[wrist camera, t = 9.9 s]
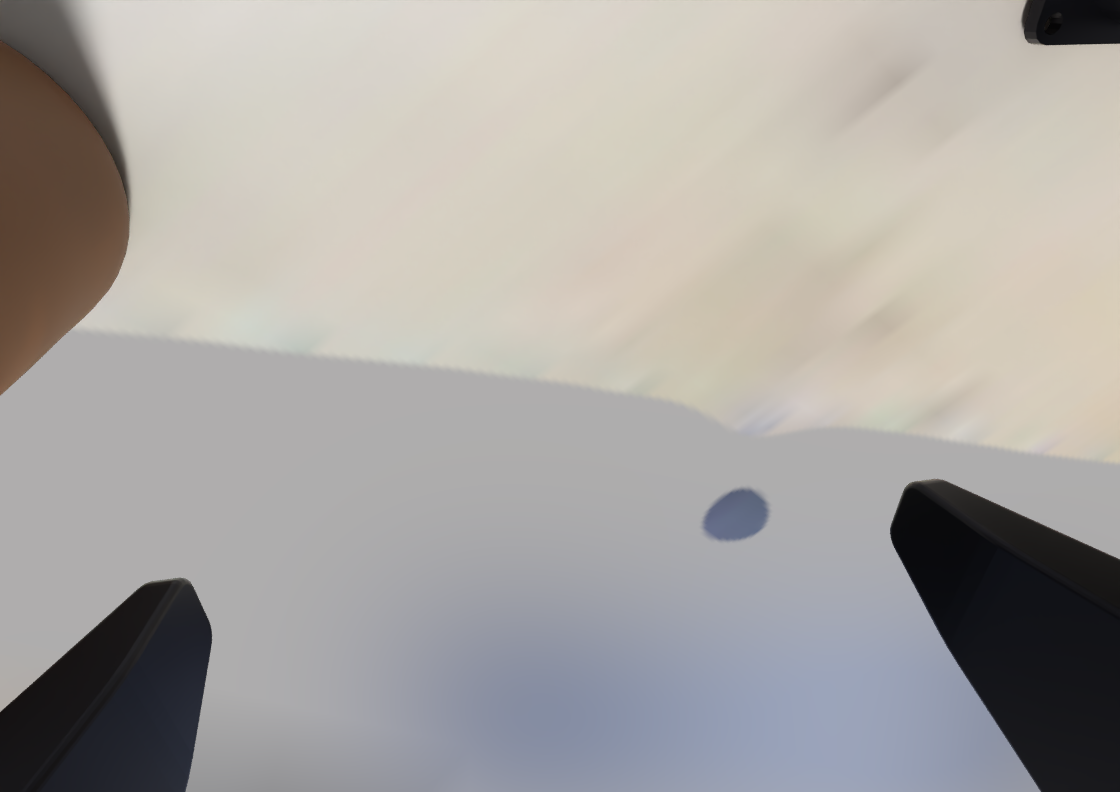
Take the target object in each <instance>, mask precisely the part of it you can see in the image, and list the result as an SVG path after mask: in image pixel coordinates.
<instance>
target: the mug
mask: <svg viewBox="0 0 1120 792" xmlns="http://www.w3.org/2000/svg"><path fill="white" fill-rule="evenodd" d="M128 239H129V211H128V204H127V197H126V194H125V190H124V187H123V183H122V180H121V177H120V174H119V172H118V170H117V167H116V165H115V162H114V160H113V158H112V156H111V154H110V152H109V150H108V149H107V147H106V145H105V143H104V141H103V140H102V138H101V136H100V135H99V133H98V132H97V130H96V129H95V127H94V126H93V125H92V123H91V122H90V120H89V119H88V118H87V116H86V115H85V114H84V112H83V111H82V110H81V109H80V108H79V107H78V106H77V104H76V103H75V102H74V101H73V100H72V99H71V98H70V96H69V95H68V94H67V93H66V92H65V91H64V90H63V89H62V88H61V87H60V86H59V85H58V84H57V83H55V82H54V81H53V80H52V79H51V78H50V77H49V76H48V75H47V74H46V73H45V72H44V71H42V70H41V69H40V68H39V67H37V66H36V65H35V64H33V63H32V62H31V61H30V60H28V59H27V58H26V57H25V56H23V55H22V54H21V53H19V52H17V51H16V50H14V49H13V48H11V47H10V46H8V45H7V44H5V43H4V42H2V41H1V40H0V395H1V394H3V393H4V392H5V391H6V390H7V389H8V388H9V387H10V386H11V385H12V384H13V383H15V382H16V381H17V380H18V379H19V378H20V377H21V376H22V375H23V374H24V373H26V372H27V371H28V370H29V369H30V368H31V367H32V366H33V365H34V364H35V363H36V362H37V361H38V360H39V359H40V358H41V357H42V356H43V355H44V354H45V353H46V352H47V351H48V350H49V349H50V348H52V347H53V345H55V343H57V342H58V341H59V340H60V339H61V338H62V337H63V336H64V335H65V334H66V333H67V332H68V331H70V330H71V329H72V328H73V327H74V326H75V325H76V324H77V323H78V322H79V321H81V320H82V319H83V318H84V317H85V316H86V315H87V314H88V313H89V312H90V311H91V310H92V309H93V308H94V307H95V306H96V304H97V303H98V302H99V301H100V300H101V299H102V297H103V296H104V295H105V294H106V293H107V292H108V290H109V289H110V287H111V286H112V284H113V282H114V281H115V279H116V277H117V275H118V273H119V271H120V268H121V265H122V263H123V260H124V257H125V254H126V251H127V245H128Z"/></svg>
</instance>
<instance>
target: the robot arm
mask: <svg viewBox="0 0 1120 792" xmlns="http://www.w3.org/2000/svg"><path fill="white" fill-rule="evenodd" d="M1049 17H1051V19H1050V24H1049V26H1048V28H1047V29H1046V30H1044V29H1045V23H1046V22H1047V20H1048V18H1049ZM1024 35H1025V39H1026V40H1027V41H1028V42H1029V43H1031V44H1037V45H1076V44H1120V0H1033V2H1032V5H1031V8H1030V11H1029V14H1028V17H1027V20H1026V23H1025V29H1024ZM890 534H891V540H892V543H893V546H894V548H895V550H896V552H897V553H898V555H899V557H900V559H901V561H902V563H903V565H904V567H905V569H906V570H907V573H908V574H909V576H910V578H911V580H912V582H913V584H914V586H915V588H916V590H917V592H918V593H919V595H920V597H921V599H922V601H923V603H924V605H925V607H926V609H927V611H928V613H929V614H930V616H931V618H932V620H933V622H934V624H935V626H936V628H937V630H938V631H939V633H940V635H941V637H942V638H943V640H944V642H945V644H946V646H947V648H948V649H949V651H950V652H951V654H952V656H953V657H954V659H955V660H956V662H957V664H958V665H959V667H960V668H961V670H962V671H963V673H964V674H965V676H966V678H967V679H968V680H969V682H970V684H971V685H972V687H973V688H974V690H975V691H976V693H977V694H978V696H979V697H980V699H981V701H982V702H983V704H984V705H985V706H986V708H987V710H988V711H989V713H990V714H991V716H992V717H993V719H994V720H995V722H996V723H997V725H998V727H999V728H1000V730H1001V731H1002V732H1003V734H1004V736H1005V737H1006V739H1007V740H1008V742H1009V743H1010V745H1011V747H1012V748H1013V750H1014V751H1015V753H1016V754H1017V756H1018V757H1019V759H1020V760H1021V762H1022V763H1023V765H1024V767H1025V768H1026V769H1027V771H1028V773H1029V774H1030V776H1031V777H1032V779H1033V780H1034V782H1035V783H1036V785H1037V786H1038V788H1039V790H1040V791H1041V792H1120V559H1118V558H1116V557H1113V556H1111V555H1109V554H1106V553H1105V552H1102V551H1100V550H1098V549H1095V548H1093V547H1091V546H1089V545H1087V544H1084V543H1082V542H1080V541H1078V540H1076V539H1073V538H1071V537H1069V536H1067V535H1064V534H1062V533H1060V532H1058V531H1055V530H1053V529H1051V528H1049V527H1047V526H1044V525H1042V524H1040V523H1038V522H1036V521H1034V520H1031V519H1029V518H1027V517H1025V516H1022V515H1020V514H1018V513H1016V512H1014V511H1011V510H1009V509H1007V508H1005V507H1002V506H1000V505H998V504H996V503H994V502H991V501H989V500H987V499H985V498H982V497H980V496H978V495H976V494H973V493H971V492H969V491H967V490H965V489H962V488H960V487H958V486H956V485H953V484H951V483H949V482H947V481H944V480H940V479H931V480H924V481H916V482H912V483H909V484H908V485H907V486H906V487H905V489H904V491H903V493H902V496H901V499H900V502H899V504H898V507H897V510H896V513H895V515H894V518H893V521H892V524H891V528H890ZM211 644H212V631H211V625H210V622H209V620H208V618H207V616H206V613H205V611H204V609H203V607H202V605H201V603H200V600H199V598H198V596H197V594H196V592H195V590H194V587H193V586H192V584H191V582H190V581H188V580H187V579H185V578H174V579H167V580H159V581H152V582H149V583H146V584H144V585H143V586H141V587H140V588H139V589H137V590H136V591H135V592H134V593H133V594H132V595H131V596H130V597H128V598H127V599H126V600H125V601H124V602H123V603H122V604H121V605H120V606H118V607H117V608H116V609H115V610H114V611H113V612H112V613H111V614H109V615H108V616H107V617H106V618H105V619H104V620H103V621H102V622H100V623H99V624H98V625H97V626H96V627H95V628H94V629H93V630H91V631H90V632H89V633H88V634H87V635H86V636H85V637H84V638H83V639H81V640H80V641H79V642H78V643H77V644H76V645H75V646H74V647H73V648H71V649H70V650H69V651H68V652H67V653H66V654H65V655H64V656H62V658H60V659H59V660H58V661H57V662H56V663H55V664H53V665H52V666H51V667H50V668H49V669H48V670H47V671H46V672H45V673H44V674H42V675H41V676H40V677H39V678H38V679H37V680H36V681H35V682H33V684H31V685H30V686H29V687H28V688H27V689H25V690H24V691H23V692H22V693H21V694H20V695H19V696H18V697H17V698H16V699H15V700H13V701H12V702H11V703H10V704H9V705H8V706H6V707H5V708H4V709H3V710H2V711H1V712H0V792H185V791H186V787H187V783H188V779H189V774H190V769H191V764H192V759H193V752H194V747H195V741H196V735H197V729H198V723H199V717H200V710H201V705H202V699H203V693H204V687H205V681H206V675H207V668H208V663H209V657H210V651H211Z"/></svg>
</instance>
